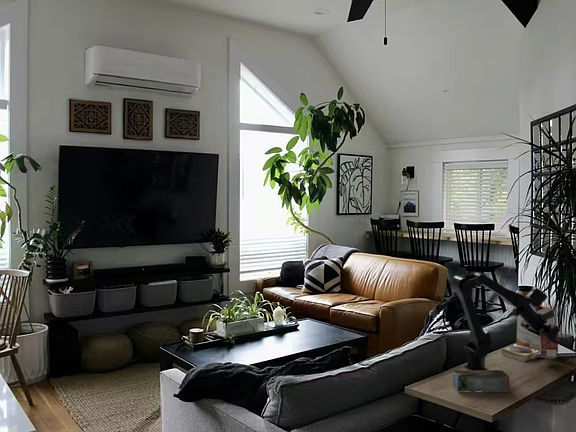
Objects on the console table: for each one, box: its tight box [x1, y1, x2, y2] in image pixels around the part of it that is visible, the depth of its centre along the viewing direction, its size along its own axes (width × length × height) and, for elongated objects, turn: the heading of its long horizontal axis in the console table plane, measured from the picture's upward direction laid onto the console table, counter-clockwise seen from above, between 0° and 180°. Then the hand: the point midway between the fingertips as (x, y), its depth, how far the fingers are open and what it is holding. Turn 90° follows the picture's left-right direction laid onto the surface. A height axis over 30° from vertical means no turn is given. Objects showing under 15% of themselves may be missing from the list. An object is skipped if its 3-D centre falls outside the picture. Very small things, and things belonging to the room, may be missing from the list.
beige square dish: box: [501, 344, 540, 362], centre depth 246 cm, size 11×11×3 cm
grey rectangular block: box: [452, 369, 510, 393], centre depth 208 cm, size 8×19×7 cm, turn 89°
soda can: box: [540, 330, 559, 360], centre depth 235 cm, size 7×7×12 cm
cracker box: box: [516, 304, 552, 351], centre depth 254 cm, size 14×6×21 cm, turn 23°
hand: (551, 340), depth 235 cm, fingers closed on soda can, 6 cm apart
